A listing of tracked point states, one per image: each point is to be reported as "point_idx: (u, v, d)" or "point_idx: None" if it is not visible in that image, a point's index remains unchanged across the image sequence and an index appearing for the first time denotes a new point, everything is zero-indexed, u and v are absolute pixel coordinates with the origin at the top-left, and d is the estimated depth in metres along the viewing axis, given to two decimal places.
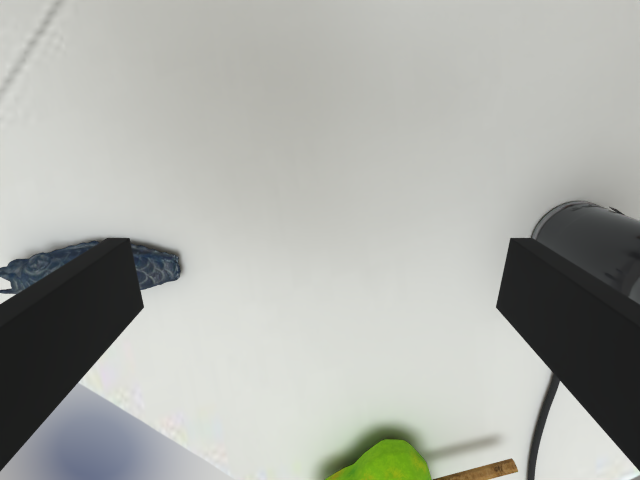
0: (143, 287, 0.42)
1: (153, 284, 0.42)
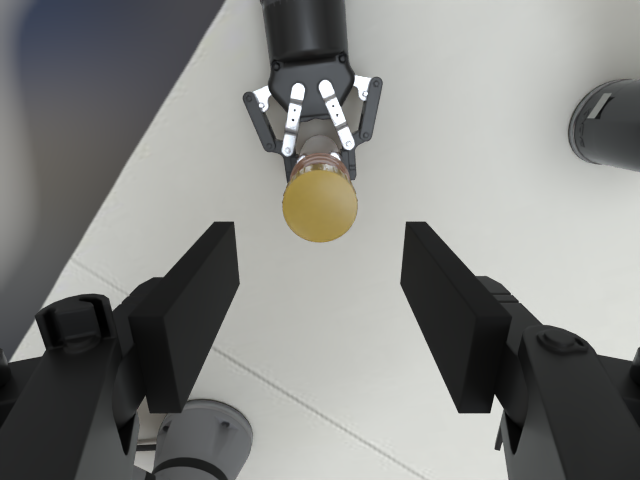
0: None
1: None
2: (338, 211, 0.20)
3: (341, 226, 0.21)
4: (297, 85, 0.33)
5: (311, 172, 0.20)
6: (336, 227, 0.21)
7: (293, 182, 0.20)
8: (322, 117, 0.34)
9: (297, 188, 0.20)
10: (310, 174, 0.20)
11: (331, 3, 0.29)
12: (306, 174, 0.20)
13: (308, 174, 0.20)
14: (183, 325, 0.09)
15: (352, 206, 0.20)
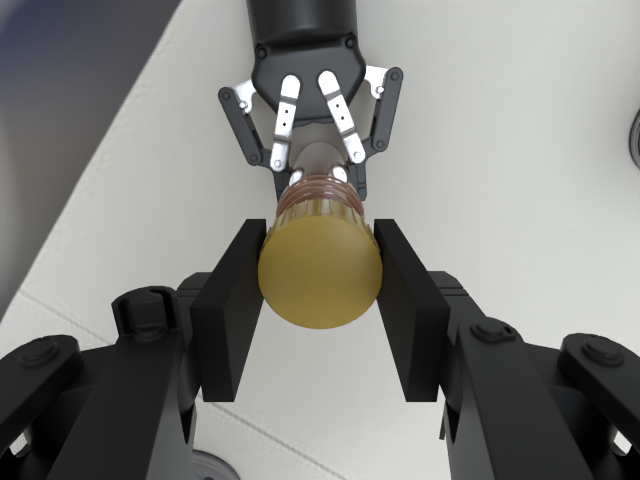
0: None
1: None
2: (350, 282, 0.12)
3: (355, 305, 0.12)
4: (290, 78, 0.24)
5: (305, 220, 0.11)
6: (347, 307, 0.12)
7: (274, 236, 0.12)
8: (323, 120, 0.26)
9: (281, 246, 0.12)
10: (303, 223, 0.11)
11: None
12: (297, 223, 0.11)
13: (300, 223, 0.11)
14: (235, 317, 0.09)
15: (374, 274, 0.12)
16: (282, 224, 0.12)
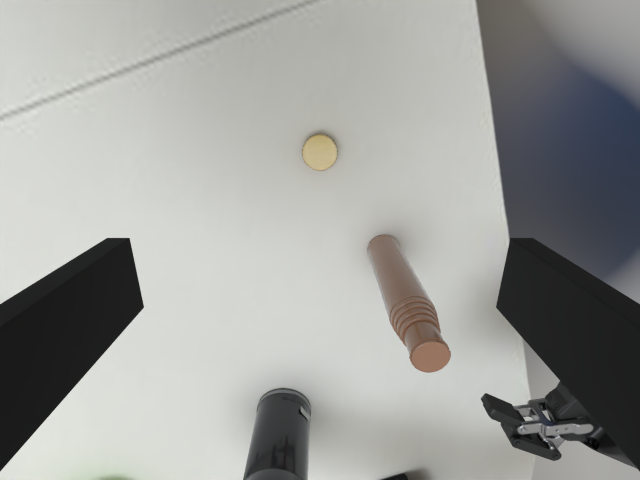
0: None
1: None
2: (328, 153, 0.44)
3: (331, 160, 0.44)
4: None
5: (313, 137, 0.43)
6: (328, 161, 0.44)
7: (306, 143, 0.44)
8: (563, 408, 0.35)
9: (308, 145, 0.44)
10: (313, 138, 0.43)
11: (634, 465, 0.35)
12: (311, 138, 0.43)
13: (312, 138, 0.43)
14: None
15: (334, 150, 0.44)
16: (307, 140, 0.44)
